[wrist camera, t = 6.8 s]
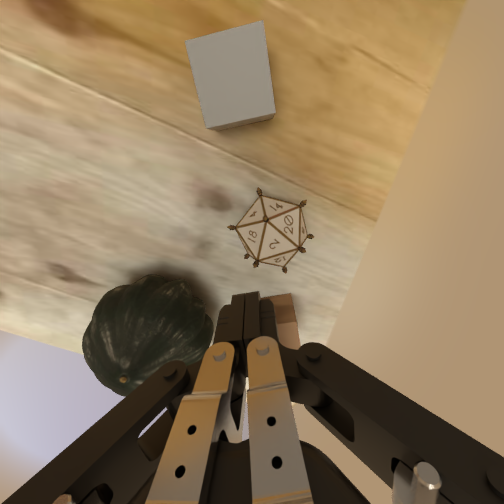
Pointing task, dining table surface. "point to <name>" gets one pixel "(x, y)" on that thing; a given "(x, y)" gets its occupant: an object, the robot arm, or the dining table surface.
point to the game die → (272, 231)
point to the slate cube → (232, 76)
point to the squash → (145, 331)
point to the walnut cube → (286, 320)
